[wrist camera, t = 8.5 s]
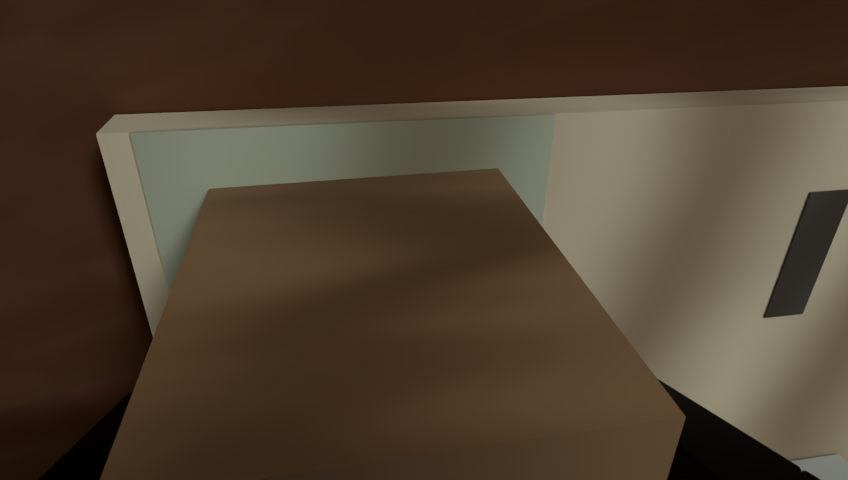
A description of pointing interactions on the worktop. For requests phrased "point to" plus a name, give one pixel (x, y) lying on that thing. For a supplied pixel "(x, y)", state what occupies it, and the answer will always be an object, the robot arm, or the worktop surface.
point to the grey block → (825, 467)
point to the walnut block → (387, 345)
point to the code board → (584, 219)
